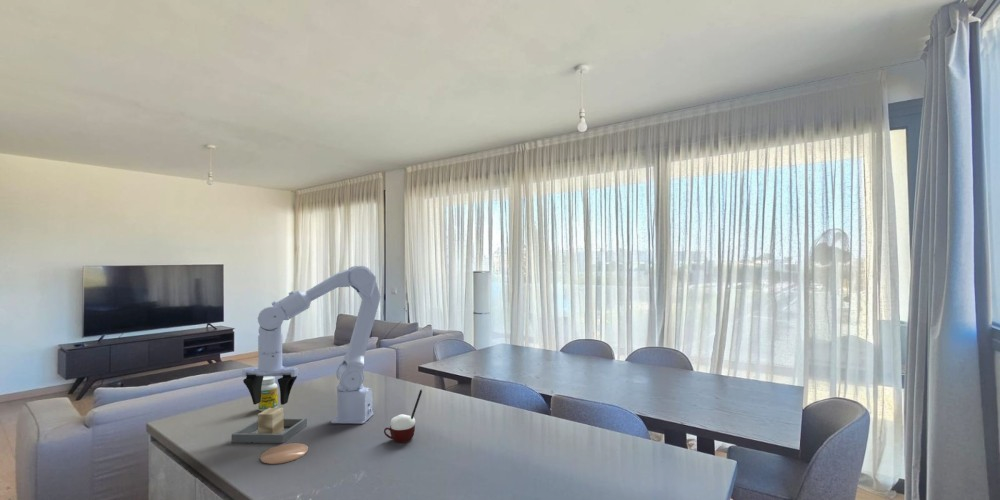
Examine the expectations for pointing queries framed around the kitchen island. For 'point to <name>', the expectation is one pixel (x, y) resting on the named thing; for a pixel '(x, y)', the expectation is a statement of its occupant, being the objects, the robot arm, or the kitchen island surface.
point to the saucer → (284, 453)
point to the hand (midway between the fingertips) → (270, 403)
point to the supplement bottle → (268, 394)
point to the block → (271, 421)
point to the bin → (246, 435)
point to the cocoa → (403, 426)
